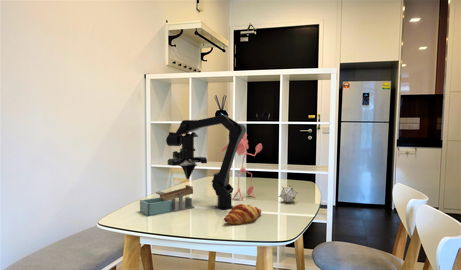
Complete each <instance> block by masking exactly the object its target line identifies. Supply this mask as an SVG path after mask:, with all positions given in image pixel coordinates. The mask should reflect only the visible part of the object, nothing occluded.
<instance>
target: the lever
mask: <svg viewBox="0 0 461 270" xmlns="http://www.w3.org/2000/svg"><path fill="white" fill-rule="evenodd" d="M179 194H183V197H187V196H189V195H193V194H194V190H193V186H191V185H189V184H185V187H183V188H179V189H174V190H171V191H167V192H163V191H161V190H158V191H155V195H159V197H160V199H161V200H164V201H169V200H172V199H175V200H176V199H179Z"/></svg>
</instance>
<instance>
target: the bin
mask: <svg viewBox="0 0 461 270" xmlns="http://www.w3.org/2000/svg"><path fill="white" fill-rule="evenodd" d="M139 212H140V213H141V214H143V215H145V216H147V217H152V216H158V215H164V214H168V213H169V214H170V213H172V201H171V200H168V201H164V200H161V199H160V196H159V197H154V198H153V197H152V198H147V199H146V198H145V199H140V200H139Z"/></svg>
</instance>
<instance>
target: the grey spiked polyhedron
mask: <svg viewBox="0 0 461 270" xmlns="http://www.w3.org/2000/svg"><path fill="white" fill-rule="evenodd" d="M281 188H282V189H281V192H280V195H278V198H279V197H280V198H281V199H282V200H283V202H285V204H288V203H290V202H293V203H295V199H296V195H297V194H298V193H299V192H297V191H295V190H294V188H293V187H291V185H289V186H287V187H284V186H282V187H281Z"/></svg>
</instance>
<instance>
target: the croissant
mask: <svg viewBox="0 0 461 270" xmlns="http://www.w3.org/2000/svg"><path fill="white" fill-rule="evenodd" d="M233 206H234V207H233V208H230V210H229V212H228V213H227V214H226V215H225V217H224V218H223V221H224V223H227V224H230V225H231V224H232V225H243V224H248V223H252V222H254V221H255V220H257V218H258V217H259V216H260V215H262V209H261V208H258V207H257V206H253V205H251V204H244V203H239V204H235V205H233Z"/></svg>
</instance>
